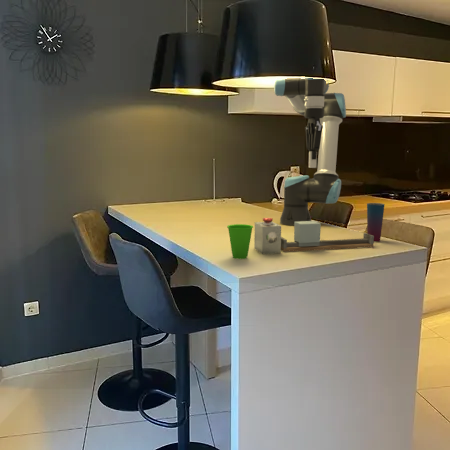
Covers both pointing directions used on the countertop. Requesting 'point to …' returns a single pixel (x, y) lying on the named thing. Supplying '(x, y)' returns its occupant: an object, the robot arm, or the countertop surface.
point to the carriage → (307, 233)
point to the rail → (306, 248)
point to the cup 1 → (240, 239)
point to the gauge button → (267, 221)
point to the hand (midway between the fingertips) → (312, 167)
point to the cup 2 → (375, 219)
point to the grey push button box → (267, 238)
